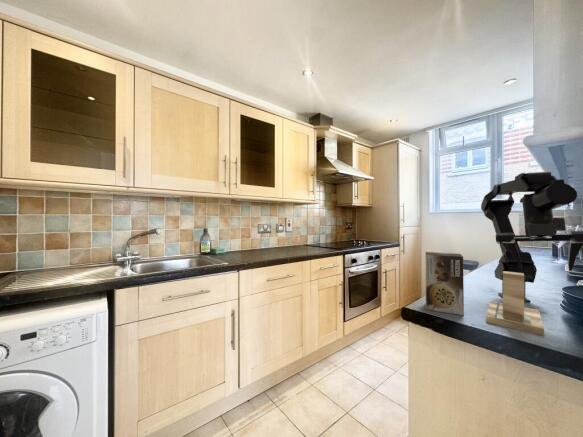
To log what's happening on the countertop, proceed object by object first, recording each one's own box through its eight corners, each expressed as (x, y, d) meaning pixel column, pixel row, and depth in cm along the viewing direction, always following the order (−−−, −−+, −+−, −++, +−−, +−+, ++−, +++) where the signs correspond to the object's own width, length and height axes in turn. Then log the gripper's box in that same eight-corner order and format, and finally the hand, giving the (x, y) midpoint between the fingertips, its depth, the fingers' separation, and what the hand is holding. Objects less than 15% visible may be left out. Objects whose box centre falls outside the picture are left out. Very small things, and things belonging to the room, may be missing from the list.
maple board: (490, 306, 71) (490, 300, 71) (538, 315, 64) (538, 309, 64) (486, 321, 59) (486, 315, 59) (544, 335, 52) (544, 328, 52)
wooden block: (503, 312, 62) (503, 270, 62) (523, 316, 59) (523, 272, 59) (502, 318, 57) (502, 273, 58) (524, 323, 55) (524, 276, 55)
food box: (460, 308, 68) (461, 253, 68) (464, 316, 63) (464, 256, 63) (425, 302, 73) (425, 251, 73) (425, 309, 67) (425, 253, 67)
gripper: (491, 211, 68) (496, 265, 65) (596, 203, 55) (607, 271, 52) (495, 218, 75) (499, 267, 72) (588, 213, 62) (597, 273, 59)
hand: (544, 269), depth 64 cm, fingers open, 9 cm apart
